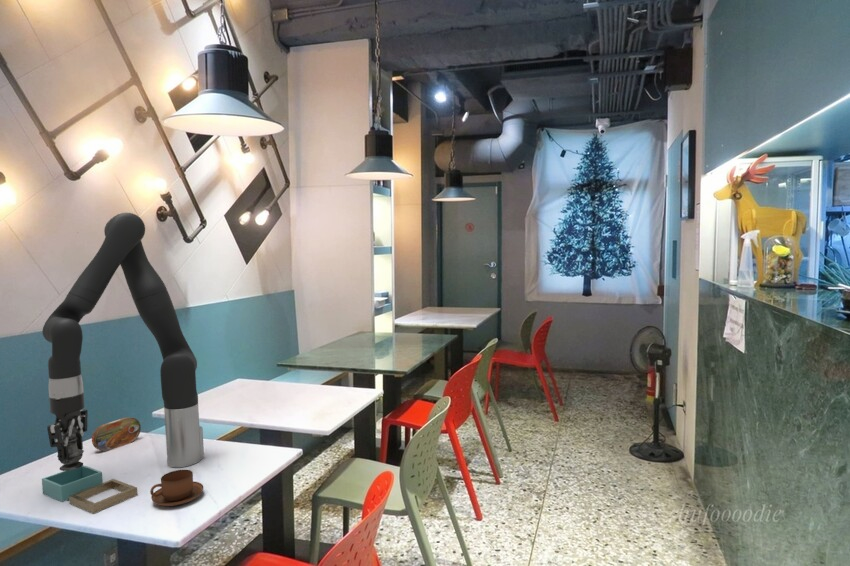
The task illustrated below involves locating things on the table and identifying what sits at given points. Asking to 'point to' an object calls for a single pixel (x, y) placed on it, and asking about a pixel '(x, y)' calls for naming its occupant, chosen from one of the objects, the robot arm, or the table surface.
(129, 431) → the tin
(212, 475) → the table surface
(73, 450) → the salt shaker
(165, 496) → the cup and saucer
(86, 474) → the bin
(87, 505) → the socket collar
